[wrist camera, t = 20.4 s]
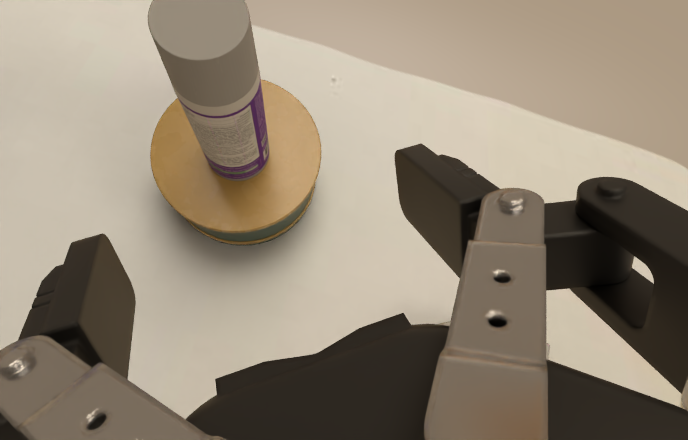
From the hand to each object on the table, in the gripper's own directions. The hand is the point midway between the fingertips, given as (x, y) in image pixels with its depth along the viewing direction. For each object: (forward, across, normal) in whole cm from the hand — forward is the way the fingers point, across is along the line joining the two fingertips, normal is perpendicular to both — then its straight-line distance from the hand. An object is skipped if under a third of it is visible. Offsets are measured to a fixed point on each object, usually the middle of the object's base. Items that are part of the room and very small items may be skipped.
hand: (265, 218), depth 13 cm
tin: (+27, 0, +11) cm, 29 cm away
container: (+23, 0, +7) cm, 24 cm away
